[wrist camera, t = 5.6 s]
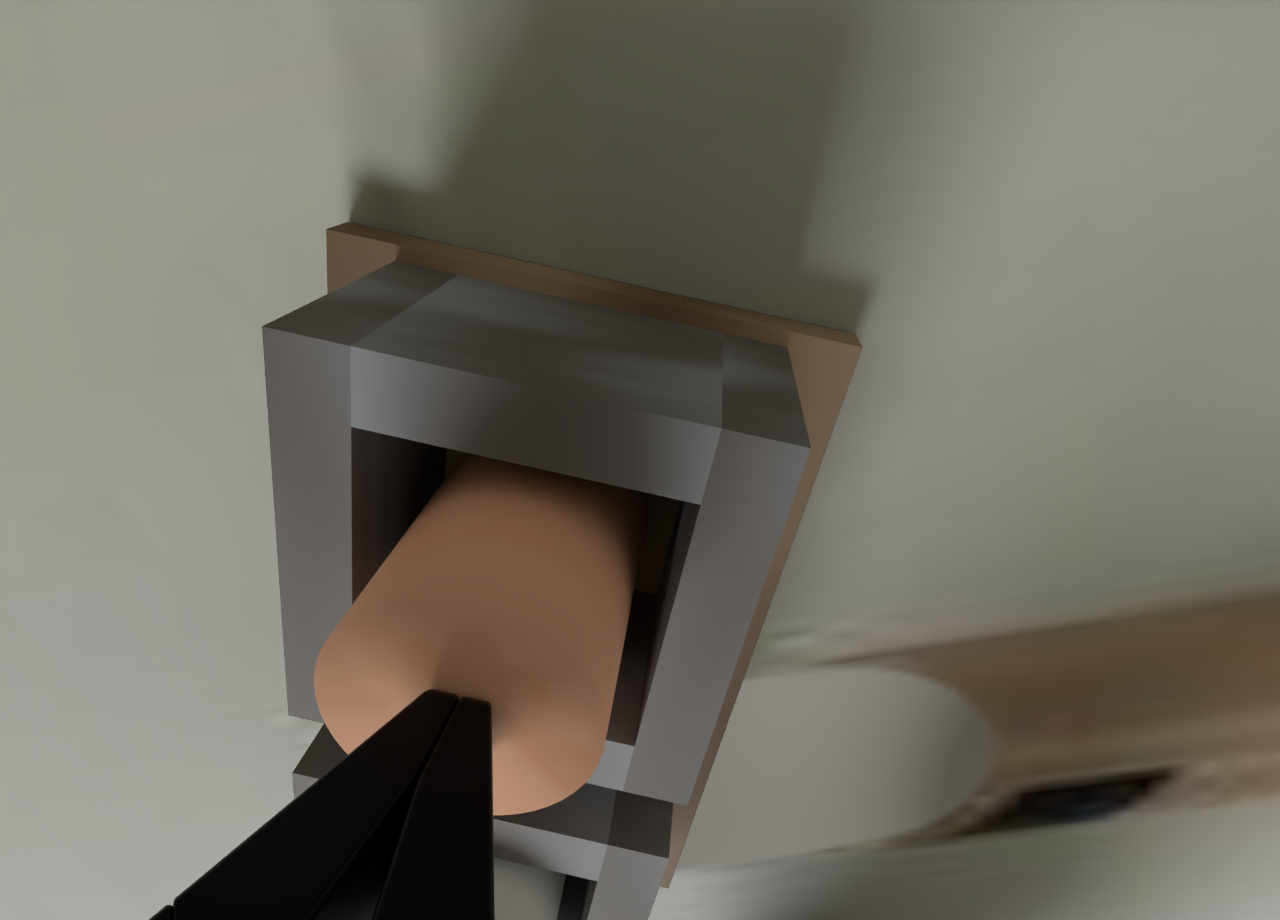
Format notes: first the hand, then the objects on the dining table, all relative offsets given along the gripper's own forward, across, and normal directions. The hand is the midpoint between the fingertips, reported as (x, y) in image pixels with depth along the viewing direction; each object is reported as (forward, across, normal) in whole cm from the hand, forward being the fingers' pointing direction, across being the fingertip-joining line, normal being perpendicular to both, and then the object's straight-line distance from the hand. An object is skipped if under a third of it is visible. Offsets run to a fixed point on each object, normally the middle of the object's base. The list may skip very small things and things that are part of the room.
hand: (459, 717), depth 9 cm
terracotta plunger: (+5, 0, 0) cm, 5 cm away
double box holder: (+7, 0, +4) cm, 8 cm away
